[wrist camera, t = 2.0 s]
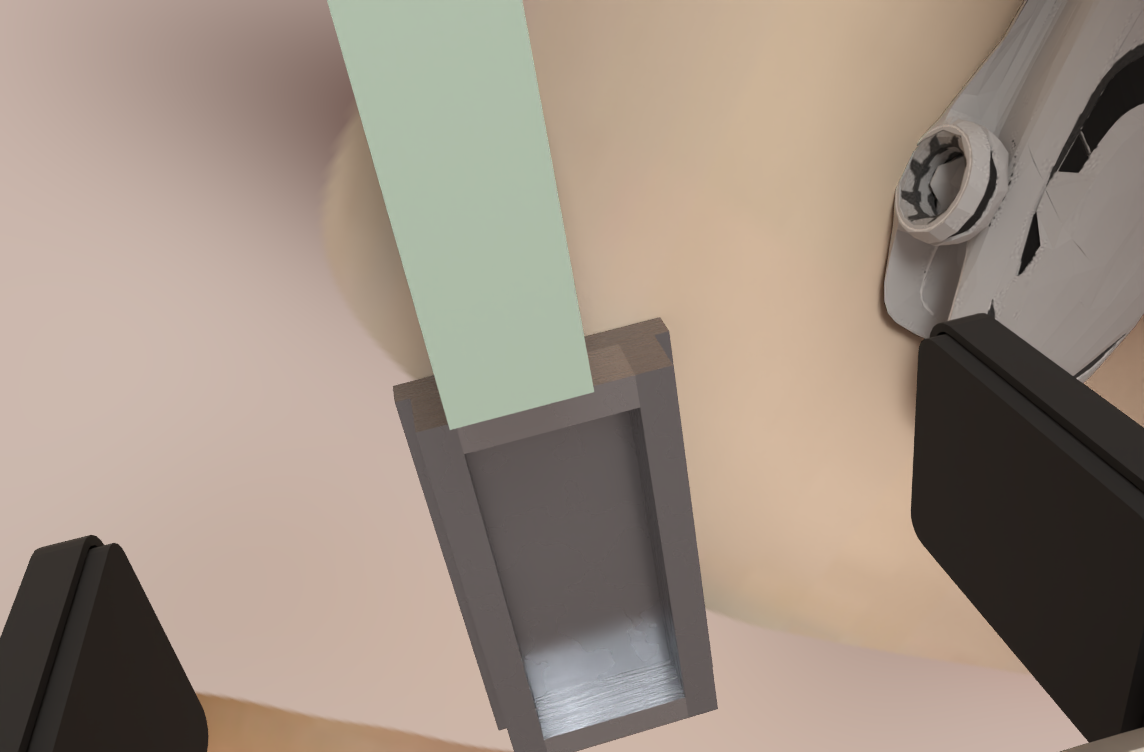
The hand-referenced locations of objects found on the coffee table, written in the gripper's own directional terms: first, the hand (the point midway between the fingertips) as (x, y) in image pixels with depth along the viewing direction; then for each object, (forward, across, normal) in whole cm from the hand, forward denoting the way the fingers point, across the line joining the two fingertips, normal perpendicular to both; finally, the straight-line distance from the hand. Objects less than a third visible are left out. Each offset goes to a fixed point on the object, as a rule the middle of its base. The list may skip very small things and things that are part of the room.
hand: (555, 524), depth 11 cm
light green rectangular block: (+19, -1, 0) cm, 19 cm away
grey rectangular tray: (+19, -2, +16) cm, 25 cm away
